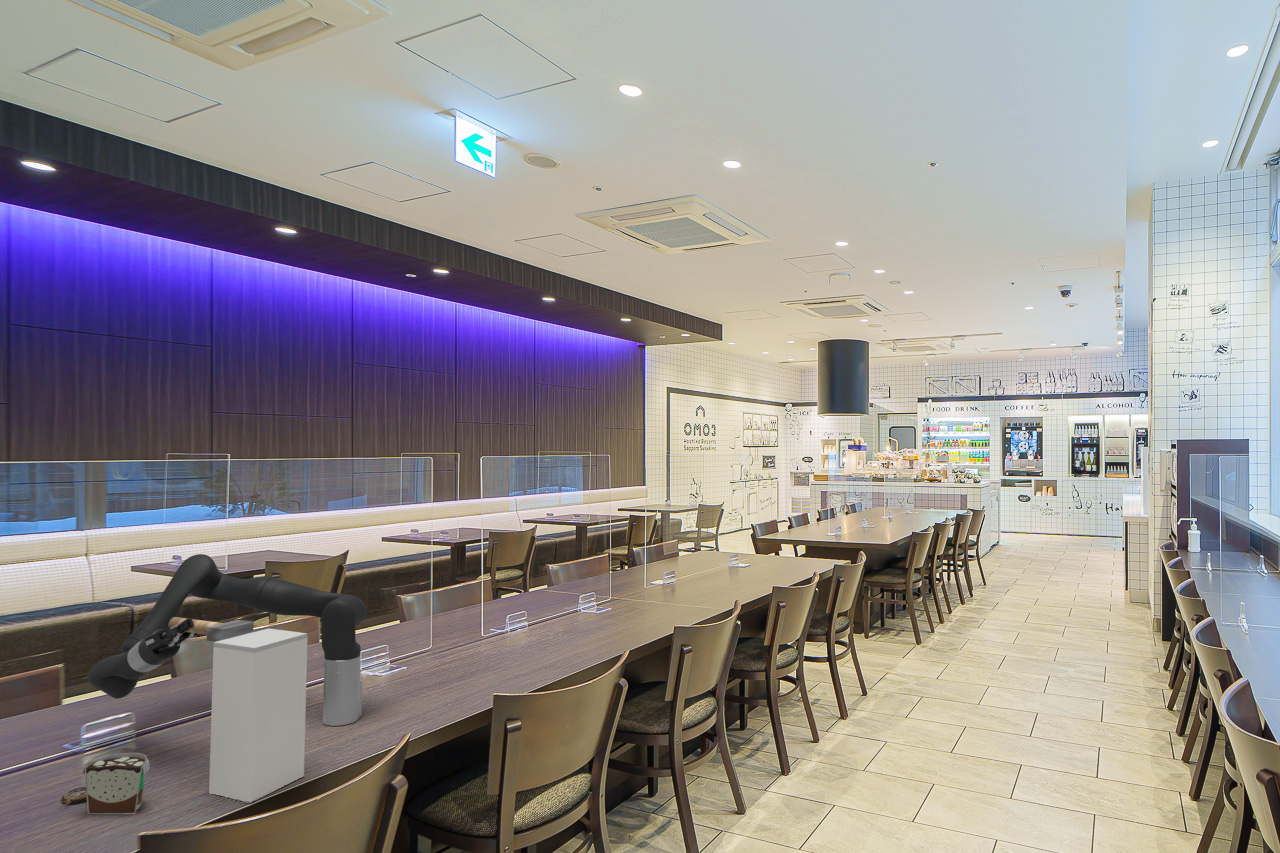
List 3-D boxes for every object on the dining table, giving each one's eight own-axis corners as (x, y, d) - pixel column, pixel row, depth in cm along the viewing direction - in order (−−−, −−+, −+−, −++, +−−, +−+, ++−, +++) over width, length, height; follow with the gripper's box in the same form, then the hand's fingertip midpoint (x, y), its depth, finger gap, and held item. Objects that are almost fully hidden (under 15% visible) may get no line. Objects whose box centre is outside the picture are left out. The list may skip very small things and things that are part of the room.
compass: (75, 791, 159) (77, 757, 159) (112, 792, 159) (113, 757, 159) (45, 809, 151) (47, 772, 151) (84, 809, 151) (85, 773, 151)
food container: (161, 800, 155) (163, 751, 155) (142, 814, 149) (144, 763, 149) (101, 800, 155) (103, 751, 155) (80, 814, 148) (82, 764, 149)
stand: (264, 768, 171) (268, 628, 172) (303, 777, 166) (307, 633, 168) (208, 794, 158) (213, 642, 159) (250, 804, 153) (254, 648, 155)
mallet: (157, 633, 173) (158, 620, 173) (189, 626, 180) (190, 613, 180) (222, 642, 165) (222, 629, 165) (253, 634, 172) (253, 621, 172)
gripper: (119, 643, 173) (164, 611, 168) (176, 630, 186) (220, 600, 181) (129, 673, 171) (175, 642, 166) (186, 657, 185) (230, 628, 179)
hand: (198, 620), depth 174 cm, fingers closed on mallet, 3 cm apart
